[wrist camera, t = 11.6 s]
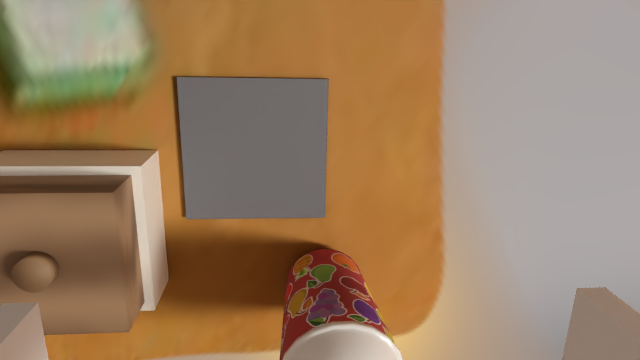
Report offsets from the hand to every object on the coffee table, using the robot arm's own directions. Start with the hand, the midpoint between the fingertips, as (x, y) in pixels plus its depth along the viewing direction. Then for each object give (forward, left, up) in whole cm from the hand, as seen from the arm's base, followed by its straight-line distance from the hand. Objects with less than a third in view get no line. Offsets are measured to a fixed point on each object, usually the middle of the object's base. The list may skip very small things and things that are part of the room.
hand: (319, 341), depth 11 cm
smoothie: (+14, +3, -29) cm, 32 cm away
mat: (+2, -3, -29) cm, 29 cm away
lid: (+8, -17, -24) cm, 30 cm away
